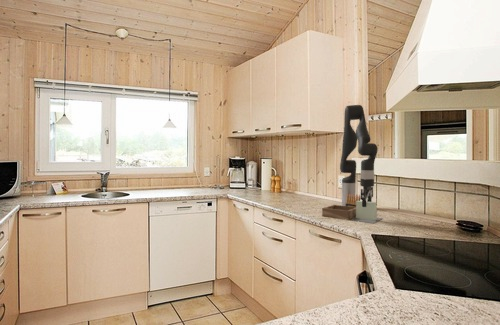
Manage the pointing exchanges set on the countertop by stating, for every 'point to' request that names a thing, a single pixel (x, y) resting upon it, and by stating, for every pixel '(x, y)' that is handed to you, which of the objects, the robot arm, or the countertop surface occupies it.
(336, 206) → the walnut box
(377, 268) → the countertop surface
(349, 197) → the ammunition clip
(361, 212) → the pale green rectangular block
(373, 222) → the rubber mat
